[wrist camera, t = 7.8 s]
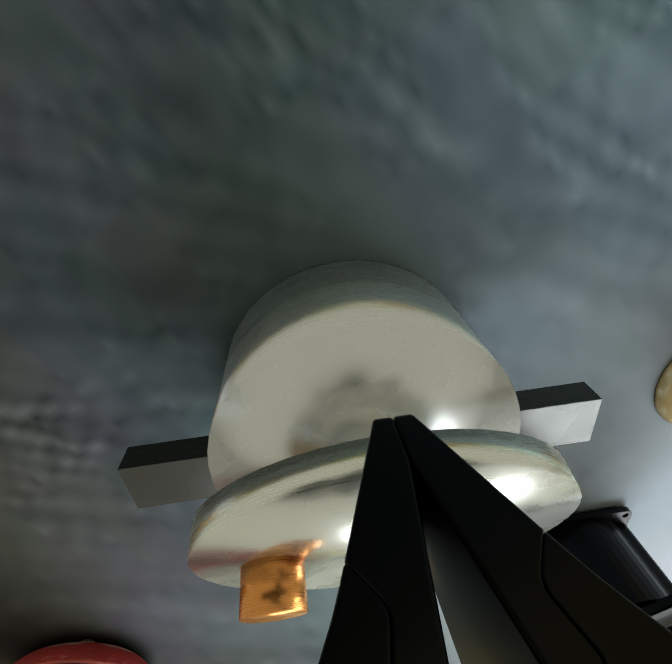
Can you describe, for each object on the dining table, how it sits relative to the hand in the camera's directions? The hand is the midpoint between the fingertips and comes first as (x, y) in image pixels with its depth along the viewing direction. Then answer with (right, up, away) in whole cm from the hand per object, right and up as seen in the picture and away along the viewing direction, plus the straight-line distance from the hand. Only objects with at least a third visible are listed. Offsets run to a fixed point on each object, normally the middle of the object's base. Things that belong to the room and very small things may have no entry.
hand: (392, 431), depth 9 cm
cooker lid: (0, -5, +6) cm, 8 cm away
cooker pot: (0, 0, +13) cm, 13 cm away
